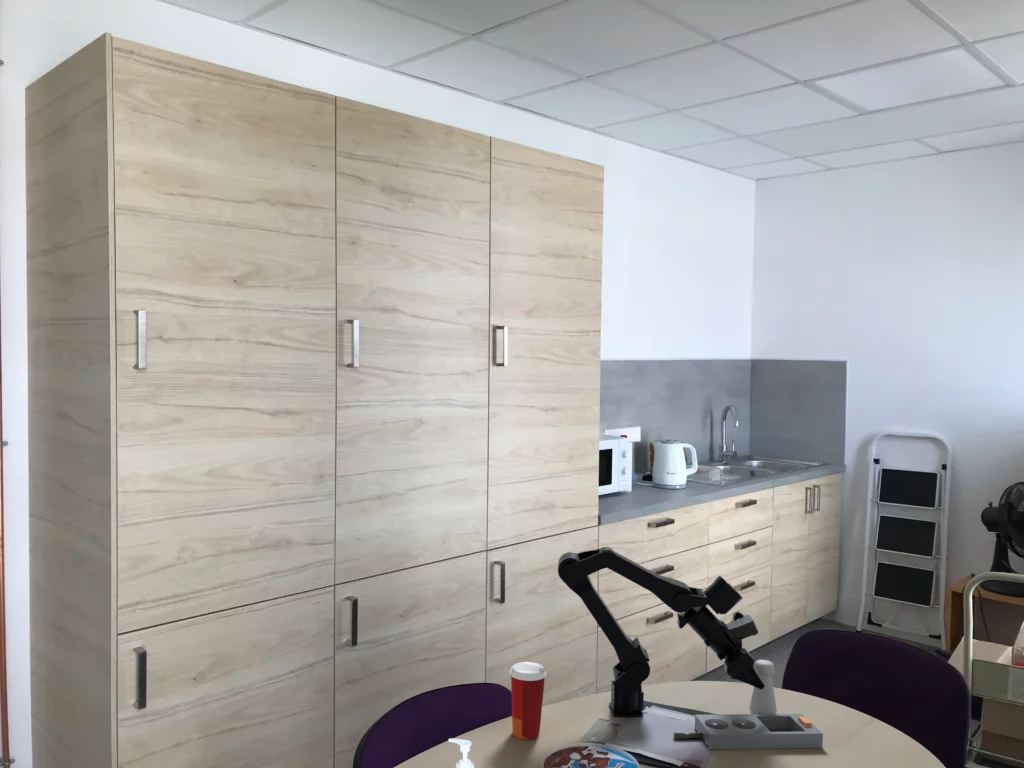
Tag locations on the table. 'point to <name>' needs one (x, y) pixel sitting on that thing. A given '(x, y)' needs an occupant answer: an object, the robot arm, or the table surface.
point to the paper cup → (527, 699)
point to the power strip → (755, 731)
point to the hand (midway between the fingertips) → (758, 679)
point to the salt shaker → (763, 690)
